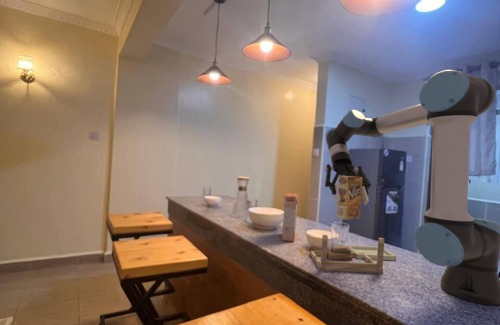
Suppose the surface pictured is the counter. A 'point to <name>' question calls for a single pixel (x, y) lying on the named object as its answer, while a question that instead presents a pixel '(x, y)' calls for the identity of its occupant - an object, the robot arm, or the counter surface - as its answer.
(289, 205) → the cracker box
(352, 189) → the candy box
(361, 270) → the rack
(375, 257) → the tray
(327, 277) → the counter surface
